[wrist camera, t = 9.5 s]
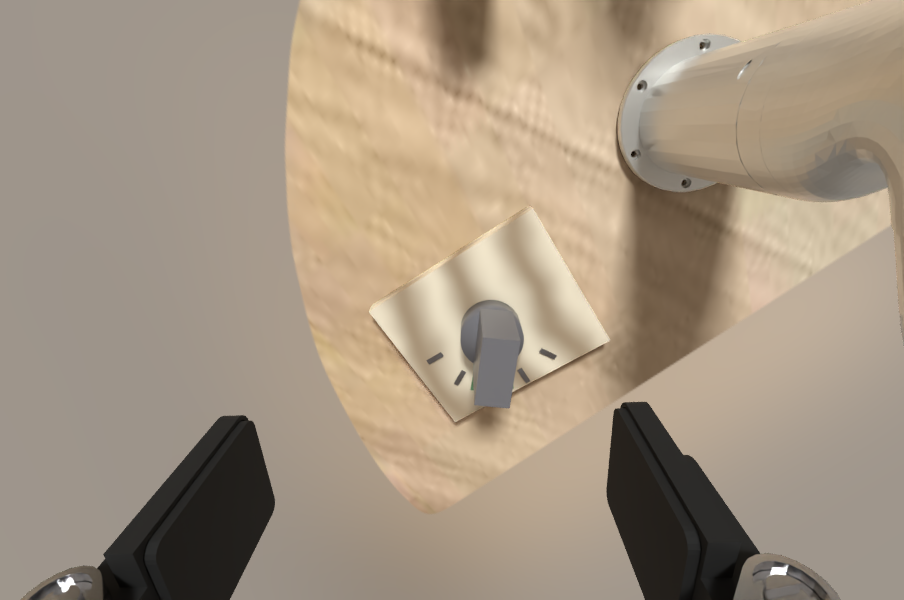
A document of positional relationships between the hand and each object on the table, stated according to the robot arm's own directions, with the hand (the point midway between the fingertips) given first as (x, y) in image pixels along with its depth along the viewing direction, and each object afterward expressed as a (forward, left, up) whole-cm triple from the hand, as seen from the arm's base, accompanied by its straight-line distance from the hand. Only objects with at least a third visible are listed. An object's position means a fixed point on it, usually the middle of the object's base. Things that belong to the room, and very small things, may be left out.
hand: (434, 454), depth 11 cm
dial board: (+3, +11, -33) cm, 35 cm away
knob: (+4, +13, -31) cm, 34 cm away
